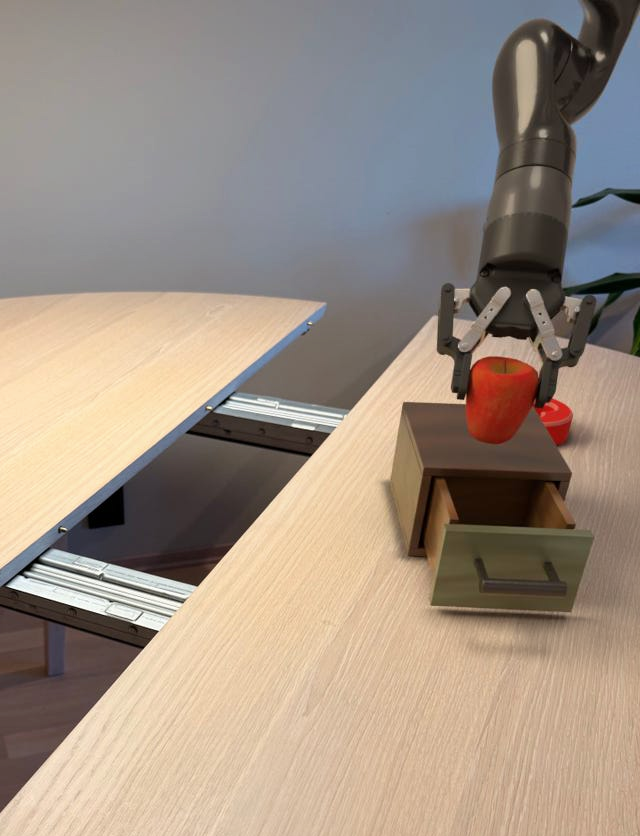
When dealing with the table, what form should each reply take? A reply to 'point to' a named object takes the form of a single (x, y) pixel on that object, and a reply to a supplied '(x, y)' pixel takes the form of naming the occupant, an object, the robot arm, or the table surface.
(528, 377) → the apple
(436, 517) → the drawer
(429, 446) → the cabinet
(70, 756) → the table surface
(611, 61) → the robot arm
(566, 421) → the decorative ornament
